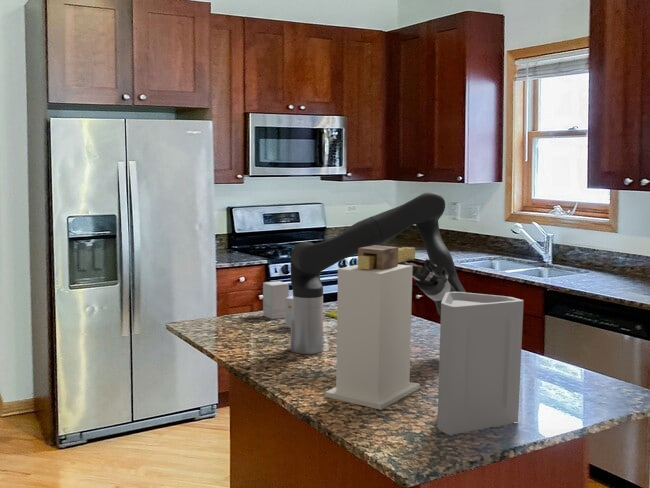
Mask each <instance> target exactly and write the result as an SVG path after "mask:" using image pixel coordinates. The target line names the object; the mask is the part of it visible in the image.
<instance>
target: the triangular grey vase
mask: <svg viewBox="0 0 650 488" xmlns="http://www.w3.org/2000/svg"><path fill="white" fill-rule="evenodd" d="M524 302H525V301H524V299H520V298H516V297H513V296H505V295H495V294H487V293H485V294H484V293H474V292H473V293H472V292H466V293H465V292H446V293H445V295H444V297H443V300H442V302H441V316H440V329H439V331H440V332H439V333H440V335H439V359H438V360H439V362H438V369H439V370H438V388H437V389H438V393H437V394H438V395H437V421H436V423H437V429H438V430H439V431H441V432H443V433H444V434H446V435H456V434H462V433H463V434H464V433H469V432H474V431H479V430H480V431H482V430H486V429H485V428H487V429H490V428H489V427H493V428H496V427H495V426H498V427H502V426H501V425H504V426H507V425H506V424H510V425H512V424H511V423H514V422H518V423H519V413H520V409H519V407H520V390H521V389H520V385H521V369H522V368H521V367H522V345H523V344H522V343H523V320H524Z"/></svg>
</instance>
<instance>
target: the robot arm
mask: <svg viewBox="0 0 650 488" xmlns="http://www.w3.org/2000/svg"><path fill="white" fill-rule="evenodd" d="M445 209H446V201H445V199H444V197H443V196H442V195H440V194H439V193H437V192H433V191H429V192H428V191H427V192H424V193H422V194H420V195H418V196H416V197H414V198H412V199H410V200H409V201H407V202H405V203H403V204H401V205H399V206H396V207H393V208H390V209H388V210H385V211H382V212H380V213H378V214H375V215H372V216H369V217H367V218H365V219H363V220H359V221H357V222H355V223H353V224H352V225H351V226H349V227H348V228H346V229H345V230H344V231H343V232H341V233H340V234H339V235H337V236H335V237H332V238H329V239H327V240H325V241H321V242H318V243H313V242H311V241H302V242H299V243H297V244H296V245H295V246H294V247H293V249H292V251H291V254H290V283H291V284H290V285H291V288H292V296H293V320H292V321H291V328H290V353H291V352H292V353H297V354H302V355H312V354H313V355H314V354H318V353H321V352H323V350H324V349H323V345H324V342H323V340H324V339H323V338H324V337H323V335H324V334H323V333H324V331H323V330H324V327H323V326H324V323H323V322H324V286H323V284H322V282H321V277H320V275H321V272H323V271H326V270H327V269H328V268H330V267H333V265H336V264H337V263H339V262H341V261H343V260H345V259H348V258H350V257H353V256H356V255H357V256H358V248H362V247H367V246H373V245H379V246H383V245H384V244H386V243H388V242H389V241H391V240H392V239H393V238H395V237H397V236H398V235H400V234H401V233H403V232H404V231H405V230H407V229H408V228H411V227H412V226H414V225H415V226H416V228H417V231H418V234H419V235H420V237H421V241H422V242H423V246H424V247H425V251H426V254H427V257H428V258H426V259H425V261H424V264H423V266H422V265H418V264H416V263H414V262H410V263H409V262H407V261H403V262H399V263H398V264H400V265H409V266H413V268H412V279H414V280H415V284H416V286H417V287H418V288H419V290H420V291H422V292H423V293H424V294H425V295H426V296H427V297H428V298H430V299H431V300H432V301H433V302H434V304H435V307H436V311H437V313H438V315H439V316H440V317H441V302H442V300H443V297H444V295H445V293H446V292H465V293H467V292H466V289H465V288H464V286H463V284H462V283H461V281H460V278H459V276H458V273H457V270H456V269H457V268H456V265H455V262H454V259H453V256H452V254H451V252H450V250H449V249H448V247H447V245H445V243H444V241H443V238H442V235H441V231H440V227H439V220H440V219H441V217H442V215H443V214H444V212H445Z"/></svg>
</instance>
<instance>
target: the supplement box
mask: <svg viewBox="0 0 650 488" xmlns="http://www.w3.org/2000/svg"><path fill="white" fill-rule="evenodd" d="M262 283H263V284H262V297H263V298H262V315H263V316H264V317H266V318H269V319H271V320H275V319H276V320H277V319H285V298H287V297H289V296H290V287H289V286H290V284H289V283H287V282H284V281H280V280H278V281H265V282H262Z"/></svg>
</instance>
